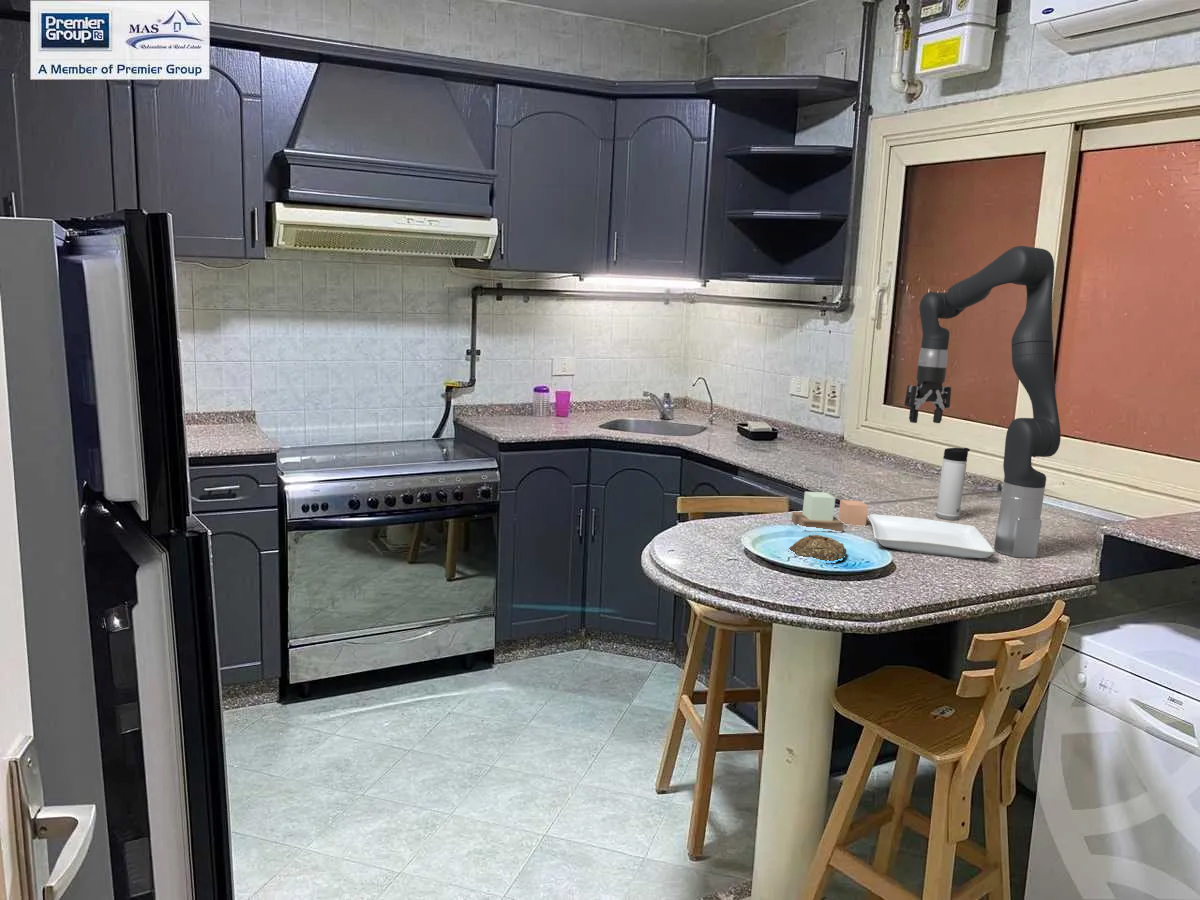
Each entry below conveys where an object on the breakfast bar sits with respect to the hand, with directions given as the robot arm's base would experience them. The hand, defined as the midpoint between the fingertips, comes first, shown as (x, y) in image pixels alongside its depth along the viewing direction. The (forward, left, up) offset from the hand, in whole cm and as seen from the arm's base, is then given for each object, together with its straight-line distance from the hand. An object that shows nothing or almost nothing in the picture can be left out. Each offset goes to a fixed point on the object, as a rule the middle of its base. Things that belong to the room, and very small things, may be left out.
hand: (925, 422), depth 263 cm
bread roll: (-48, +46, -26) cm, 71 cm away
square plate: (-34, +13, -26) cm, 45 cm away
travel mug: (-6, -7, -26) cm, 28 cm away
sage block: (-22, +37, -23) cm, 49 cm away
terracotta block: (-16, +25, -26) cm, 39 cm away
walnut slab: (-22, +37, -26) cm, 50 cm away
